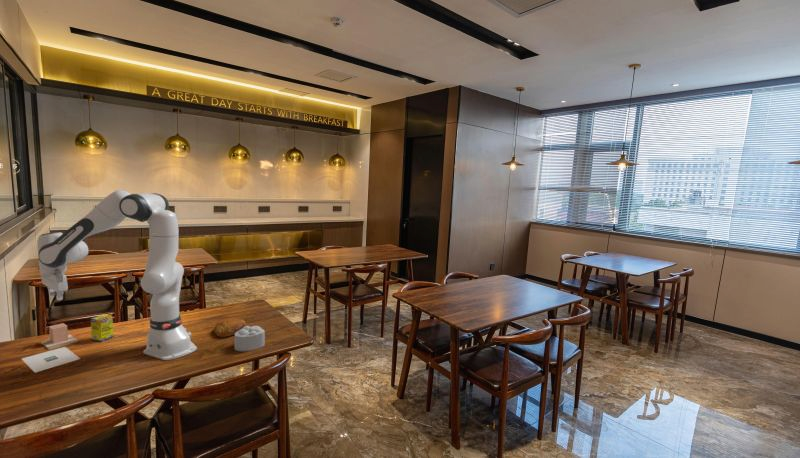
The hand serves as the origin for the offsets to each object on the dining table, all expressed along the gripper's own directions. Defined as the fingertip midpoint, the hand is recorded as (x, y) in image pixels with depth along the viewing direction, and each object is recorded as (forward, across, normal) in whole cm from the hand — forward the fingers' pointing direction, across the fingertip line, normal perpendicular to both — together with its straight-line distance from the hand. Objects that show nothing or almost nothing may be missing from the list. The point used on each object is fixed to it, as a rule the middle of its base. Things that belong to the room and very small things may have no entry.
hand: (56, 297), depth 164 cm
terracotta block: (+21, 0, 0) cm, 21 cm away
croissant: (+23, -47, -54) cm, 75 cm away
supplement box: (+22, -10, -13) cm, 27 cm away
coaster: (+22, 0, 0) cm, 22 cm away
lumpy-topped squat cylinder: (+23, -68, -50) cm, 88 cm away
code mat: (+22, -16, +7) cm, 28 cm away
